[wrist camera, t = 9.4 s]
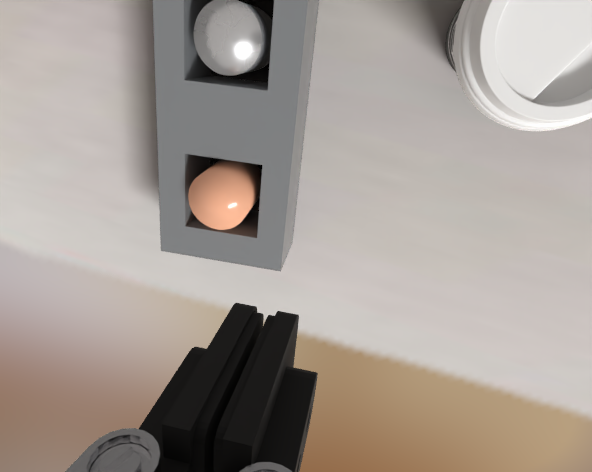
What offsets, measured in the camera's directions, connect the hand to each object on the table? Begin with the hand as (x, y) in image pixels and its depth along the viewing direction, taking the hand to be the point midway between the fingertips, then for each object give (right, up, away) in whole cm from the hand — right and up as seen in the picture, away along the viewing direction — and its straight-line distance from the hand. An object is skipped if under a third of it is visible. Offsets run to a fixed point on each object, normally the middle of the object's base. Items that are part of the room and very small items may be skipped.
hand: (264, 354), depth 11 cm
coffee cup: (+16, +18, +22) cm, 33 cm away
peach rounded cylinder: (-5, +8, +28) cm, 30 cm away
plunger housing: (-4, +14, +27) cm, 31 cm away
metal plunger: (-3, +19, +24) cm, 31 cm away
